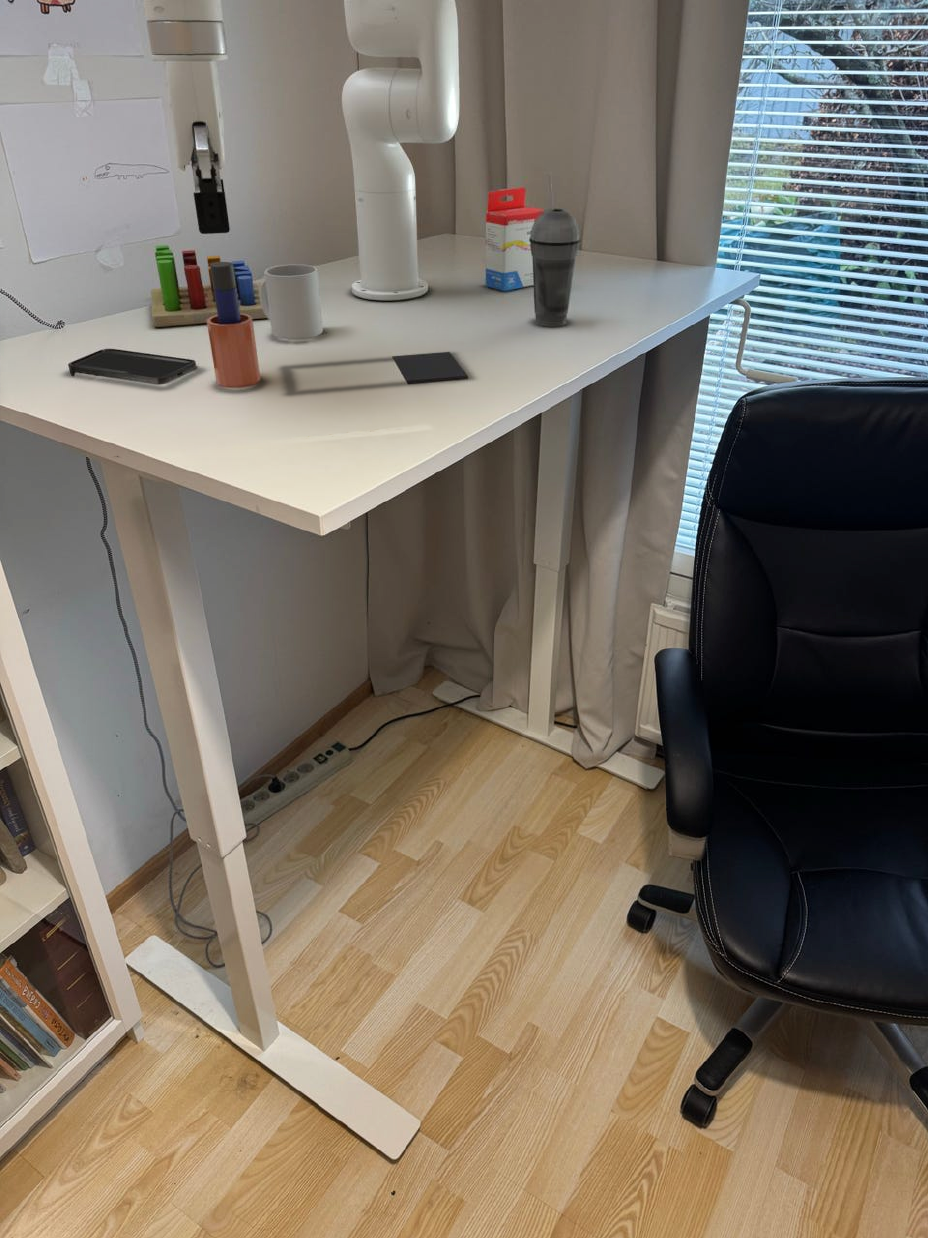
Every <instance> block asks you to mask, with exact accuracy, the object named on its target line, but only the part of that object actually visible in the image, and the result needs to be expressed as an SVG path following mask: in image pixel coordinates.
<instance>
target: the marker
mask: <svg viewBox="0 0 928 1238" xmlns="http://www.w3.org/2000/svg"><path fill="white" fill-rule="evenodd" d="M210 269H211V276H212V282H213V288H214V295H215V301H216V308H217V314H218V321H219V324H236V323H241V317H240V310H239V303H238V296H237V289H236V282H235V275H234V268H233V263H231V261H230V262H229V261H221V262H216V263H212V264H210Z"/></svg>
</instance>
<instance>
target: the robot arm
mask: <svg viewBox="0 0 928 1238" xmlns="http://www.w3.org/2000/svg"><path fill="white" fill-rule="evenodd" d="M221 1H222V0H142V3H143V8H144V9H143V10H144V15H145V21H146V27H147V34H148V40H149V45H150V52H151V58H152V61H156V62H163V65H164V67H163V68H164V78H165V86H166V94H167V103H168V109H169V115H170V116H169V117H170V121H171V122H170V123H171V127H172V134H173V140H174V146H175V153H176V154H175V155H176V160H177V167H178V169H180V170H181V171H182V172H185V171H186V166H190V165H191V170H192V177H193V178H192V179H193V184H194V185H193V186H194V191H195V192H193V199H194V205H195V211H196V212H195V214H196V218H197V226H198V231H199V233H200V234H201V235H211V234H212V235H213V234H228V233H229V232H230V230H231V227H230V220H229V213H228V205H227V197H226V192H225V185H224V179H223V178H221V173H220V172H221V171H220V170H222V169H223V168H225V166H226V143H225V126H224V125H225V123H224V114H223V105H222V96H221V95H222V94H221V87H220V79H219V71H218V63H217V61H219V62H220V61H229V56H228V49H227V39H226V34H225V24H224V22H223V21H224V15H223V8H222V2H221ZM343 5H344V18H345V25H346V33H347V38H348V41H349V42H350V45H351V47H352V48H353V50H354V51H355V52H357V53H358V54H360V55H363V56H369V57H377V58H379V57H380V58H417V59H418V60H419V63H420V66H421V68H403V67H368V68H363V69H359V70H357V71H355V72H353V73H352V74H350V76H349V77H348V78H347V79H346V80H345V82H344V85H343V88H342V91H341V106H342V114H343V118H344V122H345V126H346V127H345V128H346V131H347V136H348V141H349V146H350V152H351V153H350V154H351V161H352V162H351V163H352V172H353V187H354V198H355V200H354V201H355V216H356V218H355V219H356V230H357V231H356V232H357V246H358V247H357V248H358V261H359V262H358V263H359V276H360V279H359V280H356V281H354V282H353V283H351V293H352V294H353V295H354V296H355V297H357V298H361V299H366V300H371V301H373V300H374V301H385V302H386V301H402V300H410V299H415V298H418V297H421V296H423V295H425V294H427V292H428V290H429V284H428V282H427V281H426V280H425V279H422V278H419V261H418V260H419V259H418V227H417V226H418V225H417V224H418V223H417V199H416V198H417V193H416V175H415V171H414V168H413V165H412V163H411V160H410V159H409V157H408V154H406V152H405V150H404V149H403V147H402V145H401V144H403V143H409V144H442V143H445V142H448V141H450V140H451V139H452V138H453V137H454V135H455V134H456V132H457V129H458V125H459V118H460V61H459V60H460V59H459V57H460V56H459V54H460V53H459V23H458V22H459V21H458V11H457V6H456V0H343Z"/></svg>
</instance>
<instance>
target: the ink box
mask: <svg viewBox="0 0 928 1238" xmlns="http://www.w3.org/2000/svg"><path fill="white" fill-rule="evenodd" d="M526 192H527V190H526V187H525V186H522V187H514V188H513V187H512V188H504V189H497V190H490V191H488V192H487V207H486V208H487V209H486V213H485V286H486V287H487V288H491V289H495V290H498V291H502V292H506V291H511V290H517V289H523V288H527V287H531V286H534V282H533V258H532V254H531V247H530V242H529V239H530V236H531V230H532V227H533V224H534V222H535V220H536V219H537V218H538V216H540V215H541V214H542V213H543V212H544V210H543V209H541V208H537V207H532V206H525V205H526ZM506 196H508V197H512V199H511V200H505V201H501V198H506Z"/></svg>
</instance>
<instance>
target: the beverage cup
mask: <svg viewBox="0 0 928 1238" xmlns="http://www.w3.org/2000/svg"><path fill="white" fill-rule="evenodd" d="M547 191H548V207H549V208H548V209H546V210H545V211H543V213H542V214H541V215H540V216H538V218H537V219H536V220H535V222H534V224H533V227H532V230H531V236H530V239H529V242H530V247H531V254H532V258H533V282H534V285H533V304H534V306H533V307H534V317H535V325H537V326H540V327H545V328H558V327H562V326H565V325H566V324H567V317H568V313H569V307H570V299H571V293H572V287H573V286H572V285H573V278H574V271H575V265H576V258H577V256H578V252H579V248H580V243H581V238H580V237H581V236H580V229H579V225H578V222H577V220H576V218H575V217H574V215H572V214H571V213H570V212H569V211H567V210H565V209H563V208H554V199H553V182H552V173H551V172H549V173H547Z"/></svg>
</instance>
